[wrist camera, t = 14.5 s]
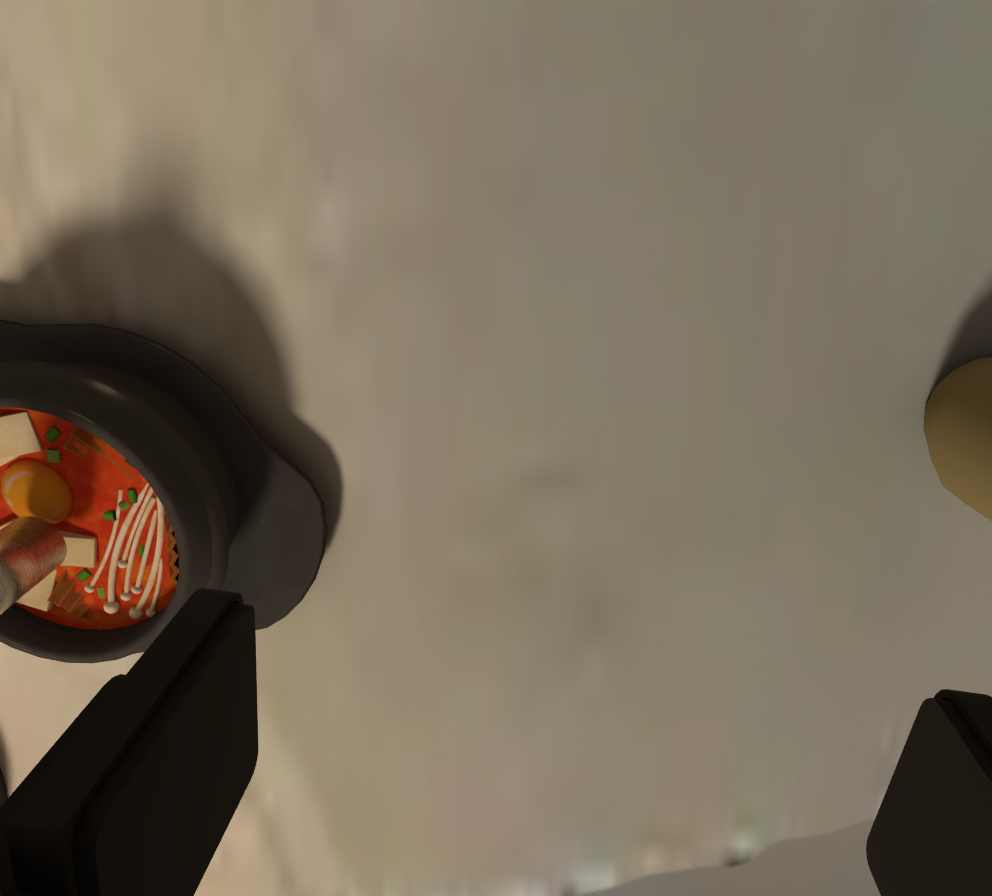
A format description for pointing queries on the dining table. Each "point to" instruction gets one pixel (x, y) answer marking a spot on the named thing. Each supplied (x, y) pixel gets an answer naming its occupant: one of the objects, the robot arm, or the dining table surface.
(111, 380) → the casserole
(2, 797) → the belt
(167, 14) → the dining table surface
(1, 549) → the orange and grey cylinder
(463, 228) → the dining table surface
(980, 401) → the squeeze bottle
